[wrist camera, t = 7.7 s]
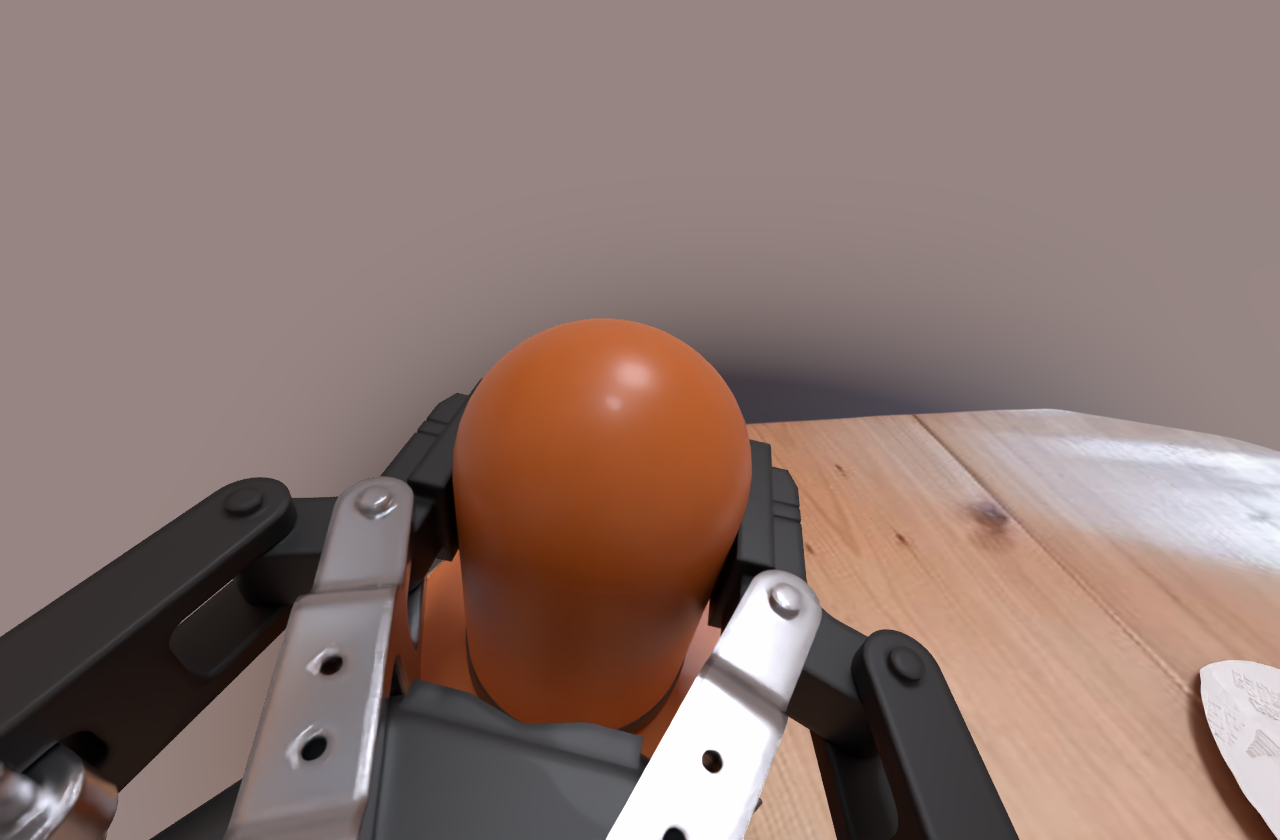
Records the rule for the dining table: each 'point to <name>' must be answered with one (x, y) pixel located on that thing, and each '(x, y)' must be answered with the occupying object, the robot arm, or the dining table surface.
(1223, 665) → the plaque
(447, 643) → the hat
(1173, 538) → the dining table surface
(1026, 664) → the dining table surface
